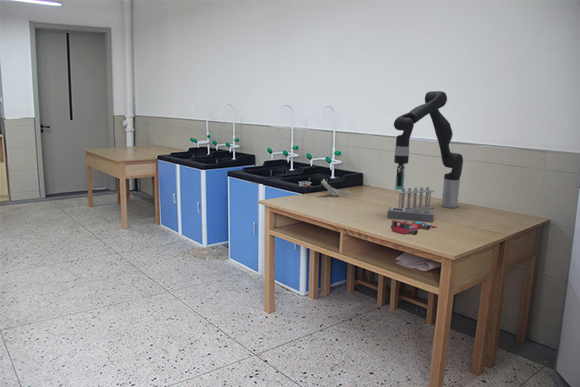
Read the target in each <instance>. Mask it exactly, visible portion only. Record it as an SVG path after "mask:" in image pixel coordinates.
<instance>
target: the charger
mask: <svg viewBox="0 0 580 387" xmlns="http://www.w3.org/2000/svg"><path fill="white" fill-rule="evenodd" d="M399 177H401V175H399ZM397 180H398V179H397V174H395V186H394V187H395V190H398V191H399V190H400V191H402V190H403V189H404V188H405V187H404V186H405V174H404V175H402V183H401V186H397Z"/></svg>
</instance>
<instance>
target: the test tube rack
mask: <svg viewBox="0 0 580 387" xmlns="http://www.w3.org/2000/svg"><path fill="white" fill-rule="evenodd" d="M413 189H414V190H412V188H411V187H408V188H407V190H406V188H405V187H404V189H403V190H401V191H396V193H397V194H398V195H399V197H398V208H405V209H416V210H434V207H433V206H431V197H432V196H431V195H432V193H434V192H435V190H433V189H432V190H431V189H430V187H429V186H426V189H424V187H422V186H420V188H419V189H420V190H418V187H414V188H413ZM424 193H425V197H424V195H423V194H424ZM406 194H407V200H406V201H407V203H406V207H405V195H406ZM412 194H413V201H412V202H413V203H412V207H411V199H412V198H411V196H412ZM418 194H419V201H418V200H417V198H418ZM423 197H424V198H425V200H424V206H423ZM417 201H418V206H417Z"/></svg>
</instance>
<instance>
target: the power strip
mask: <svg viewBox="0 0 580 387" xmlns="http://www.w3.org/2000/svg"><path fill="white" fill-rule="evenodd" d="M405 208H406V207H404V208H401V207H400V208H399V207H395V206H394V207H392V206H390V207H389V208H388V209H387V213H386V215H387V219H393V220H405V221H415V222H426V223H433V222H434V221H433V220H434V215H435V213H434V212H435V211H434V210H428V209H424V210H416V209H405Z"/></svg>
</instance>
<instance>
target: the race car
mask: <svg viewBox="0 0 580 387" xmlns="http://www.w3.org/2000/svg"><path fill="white" fill-rule="evenodd" d="M437 227H438V226H436V225H432V224H430V223H425V222H423V221H415V220H412V223H409V222H408V220H405V221H399V220H397V219H392V220H391V226H390V228H391V231H394V232H396V233H400V234H404V235H406V234H410V235H418V231H419V230H420V229H422V230H423V229H424V230H426V231H427V230H430V229H431V228H437ZM414 233H415V234H414Z"/></svg>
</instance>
